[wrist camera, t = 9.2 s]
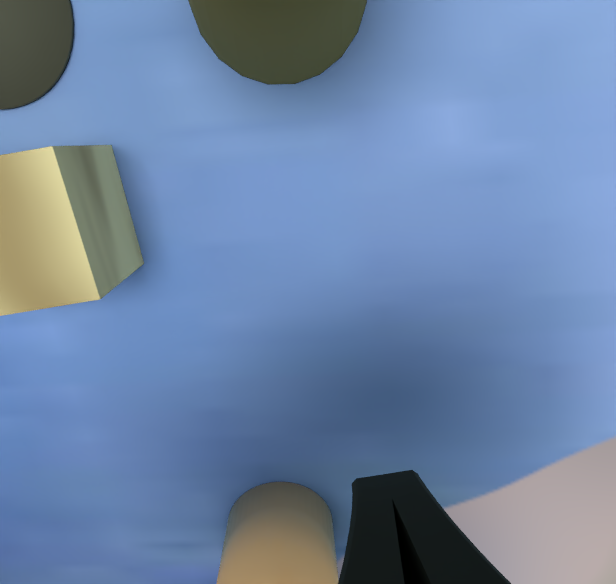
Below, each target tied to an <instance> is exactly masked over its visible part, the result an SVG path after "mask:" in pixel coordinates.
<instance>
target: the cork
mask: <svg viewBox="0 0 616 584" xmlns="http://www.w3.org/2000/svg"><path fill="white" fill-rule="evenodd" d="M366 3H367V0H189V4H190V7H191V9H192V12H193V15H194V17H195V20H196V23H197V25H198V28H199V31H200V33H201V35H202V37H203V38H204V39H205V41H206V42H207V43H208V45H209V46H210V47H211V49H212V50H213V51H214V53H215V54H216V56H217V57H218V58H219V59H220V60H221V61H223V62H224V63H225V64H227V65H228V66H229V67H231V68H232V69H233V70H235V71H236V72H238V73H239V74H240V75H242V76H244V77H247V78H250V79H253V80H256V81H259V82H262V83H265V84H296V83H298V82H301V81H304V80H306V79H309V78H312V77H314V76H317V75H320V74H321V73H322V72H324V71H325V70H326V69H327V68H328V67H330V66H331V65H332V64H333V63H334V62H336V61H337V60H338V59H339V58H341V57H342V55H343V54H344V52H345V51H346V49H347V48H348V46H349V45H350V43H351V42H352V40H353V38H354V37H355V35H356V34H357V32H358V30H359V26H360V23H361V20H362V16H363V13H364V10H365V6H366Z"/></svg>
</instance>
